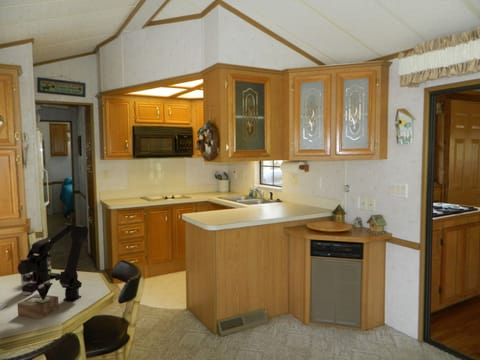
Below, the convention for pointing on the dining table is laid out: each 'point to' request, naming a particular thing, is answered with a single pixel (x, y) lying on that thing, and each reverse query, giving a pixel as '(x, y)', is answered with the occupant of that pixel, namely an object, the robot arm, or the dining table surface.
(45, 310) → the walnut block
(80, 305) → the dining table surface
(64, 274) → the robot arm
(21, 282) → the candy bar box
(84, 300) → the dining table surface
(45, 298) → the sage peg
